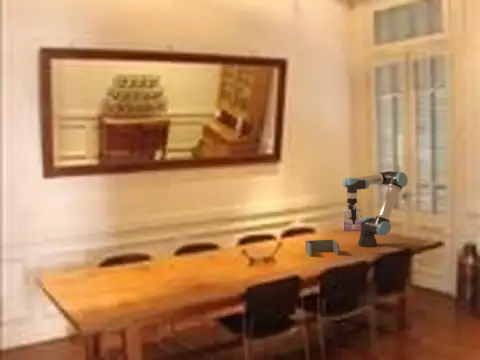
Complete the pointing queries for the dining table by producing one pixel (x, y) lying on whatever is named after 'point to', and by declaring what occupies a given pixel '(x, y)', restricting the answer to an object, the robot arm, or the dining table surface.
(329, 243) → the open box
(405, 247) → the dining table surface
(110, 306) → the dining table surface
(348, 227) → the candy box
